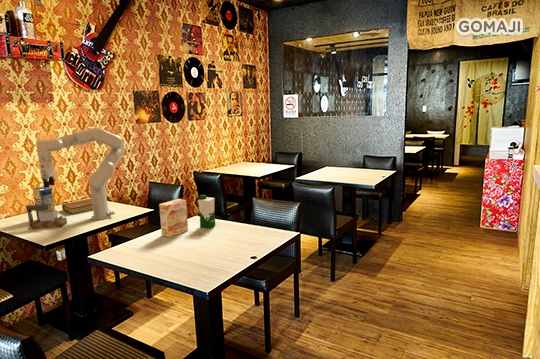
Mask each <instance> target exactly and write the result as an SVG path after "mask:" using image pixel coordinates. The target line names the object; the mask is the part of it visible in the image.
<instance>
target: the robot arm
mask: <svg viewBox="0 0 540 359" xmlns="http://www.w3.org/2000/svg"><path fill="white" fill-rule="evenodd" d="M93 142H98V143H101V144H103V145H106V146H108V147H110V150H109V152H108V153H107V155H106V156H105V157H104V159H102V160H101V161H100V163H99V166H98V168H97V169H96V170H95V172H93V173H91V174H90V175H89V178H88V181H89V182H88V184H89V188H90V196H91V198H92V206H93V211H92V212H93V214H92V216H91V220H92V221H93V220H94V221H101V220H107V219H109V218H111V217H112V216H113V215H115V214H116V213H115V211H111V210H110V209H109V207H108V199H107V191H106V190H107V189H106V188H107V187H106V183H107V182H109V179H111V177H112V176H113V174H114V173H115V169H116V168H115V167H116V166H117V165H118V163H119V161H120V160H121V159H122V157H123V156H124V153H125V145H124V144H125V143H124V141H123V138H122V137H121V136H120V135H118V134H113V133H112V132H109V131H107V130H105V129H104V128H103V127H100V126H97V127H92V128H89V129H86V130H80V131H78V132H74V133H71V134H67V135H64V136H60V137H56V138H53V139H50V140H49V139H39V140H37V141H36V143H35V145H36V151H37V152H36V153H37V156H38V157H37V158H38V162H39V172H40V173H39V174H40V178H41V180H42V184H43V187H44V188H50V186H55V184H56V183H55V175H56V169H55V165H54V162H53V155H52V152H59V151H61V150H63V149H66V148H69V147H74V146H83V145H86V144H90V143H93Z"/></svg>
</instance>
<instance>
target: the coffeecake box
mask: <svg viewBox="0 0 540 359" xmlns="http://www.w3.org/2000/svg"><path fill="white" fill-rule="evenodd" d="M158 206H159V217H160V229H161V230H160V231H161V236H162V235H163V236H162V237H165V236H166V237H165V238H168V237H169V238H172V237H174V235H175V236H177V234H178V235H180V234H183V233H186V232H188V231H189V225H188V222H189V221H188V209H187V200H186V199H182V198H176V199H173V200H170V201H166V202H162V203H159V204H158ZM185 231H186V232H185ZM182 232H183V233H182ZM171 236H172V237H171Z"/></svg>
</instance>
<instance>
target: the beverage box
mask: <svg viewBox="0 0 540 359" xmlns="http://www.w3.org/2000/svg"><path fill="white" fill-rule="evenodd" d="M32 195H33V200H34V201H33V202H34V205H45V204H52V205H53V209H50V210H56V208H55V207H56V206H55V200H54V193H53V188H52V187H49V188H44V186H40V187H35V188H32ZM41 211H42V210H35V214H36V220H37V219H39V212H41Z"/></svg>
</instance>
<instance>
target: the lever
mask: <svg viewBox="0 0 540 359" xmlns="http://www.w3.org/2000/svg"><path fill="white" fill-rule="evenodd" d="M50 209H53V205H52V204H45V205H35V204H27V205H25V210H26V212H27V211H31V210H32V211H36V210H50Z"/></svg>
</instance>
